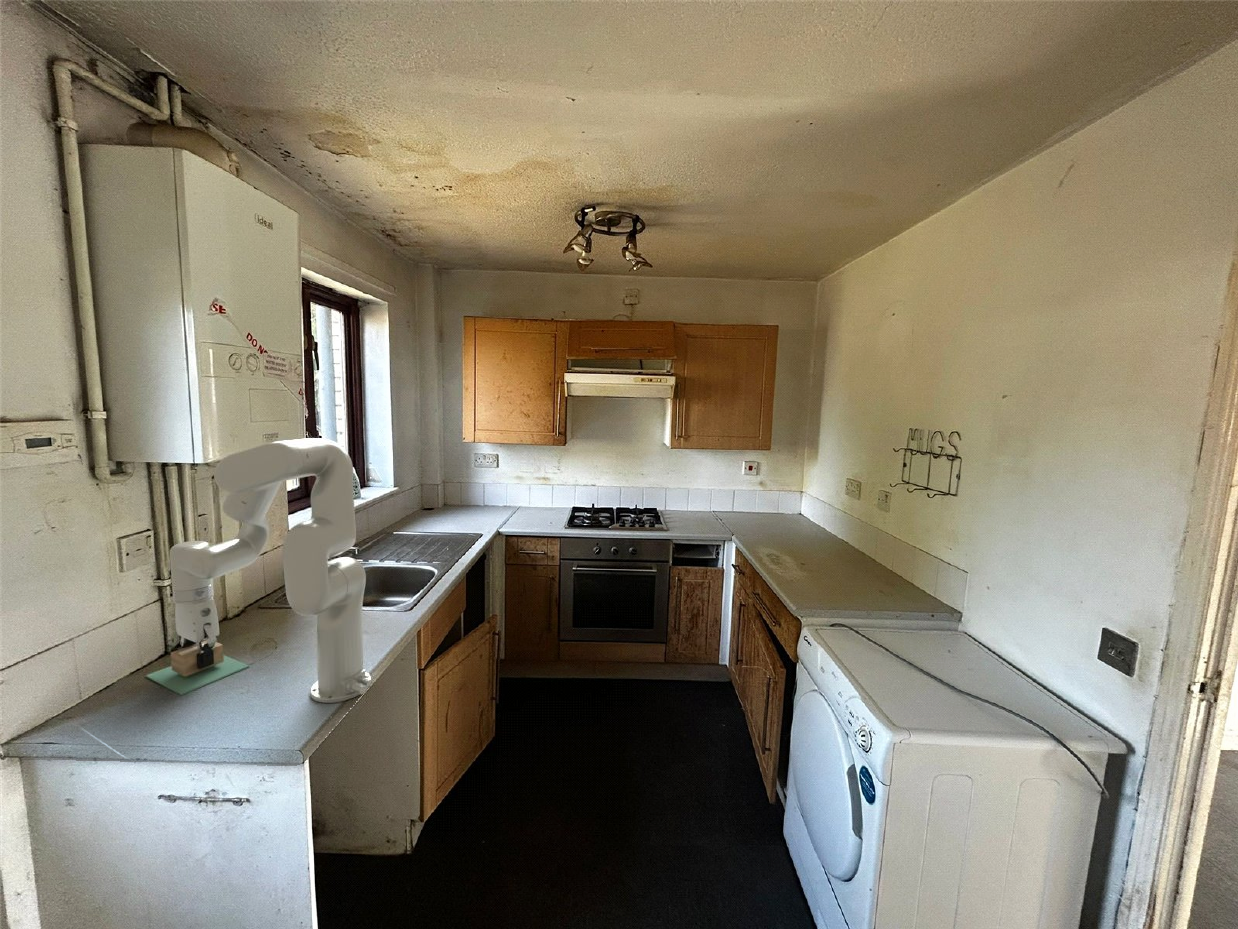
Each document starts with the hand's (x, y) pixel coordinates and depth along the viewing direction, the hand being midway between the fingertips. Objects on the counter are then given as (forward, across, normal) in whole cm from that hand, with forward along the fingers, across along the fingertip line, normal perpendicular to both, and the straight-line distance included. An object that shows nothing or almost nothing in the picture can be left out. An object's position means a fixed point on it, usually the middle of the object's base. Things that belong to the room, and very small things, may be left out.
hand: (198, 662), depth 123 cm
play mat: (+3, 0, 0) cm, 3 cm away
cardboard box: (+1, 0, 0) cm, 1 cm away
